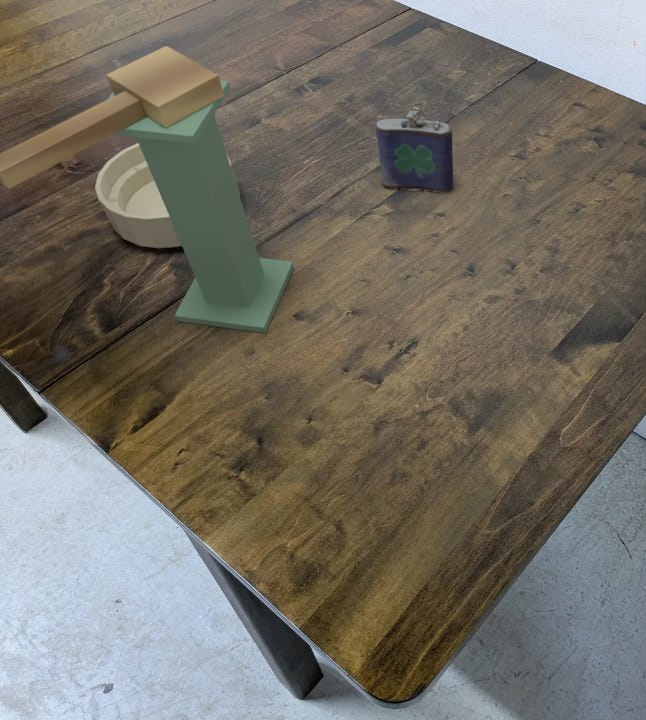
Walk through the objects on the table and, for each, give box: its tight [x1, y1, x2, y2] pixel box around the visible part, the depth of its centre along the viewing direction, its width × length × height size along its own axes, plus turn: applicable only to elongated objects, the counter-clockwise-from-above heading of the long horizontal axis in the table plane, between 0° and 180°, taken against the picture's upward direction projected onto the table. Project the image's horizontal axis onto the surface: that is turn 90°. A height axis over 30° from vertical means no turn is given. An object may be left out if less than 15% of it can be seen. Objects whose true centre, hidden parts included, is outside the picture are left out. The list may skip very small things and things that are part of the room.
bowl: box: [94, 142, 241, 249], centre depth 87 cm, size 15×15×6 cm
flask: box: [375, 106, 454, 194], centre depth 89 cm, size 9×3×11 cm, turn 84°
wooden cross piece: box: [0, 45, 224, 190], centre depth 58 cm, size 7×18×2 cm, turn 141°
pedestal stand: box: [106, 80, 295, 334], centre depth 71 cm, size 10×10×25 cm
